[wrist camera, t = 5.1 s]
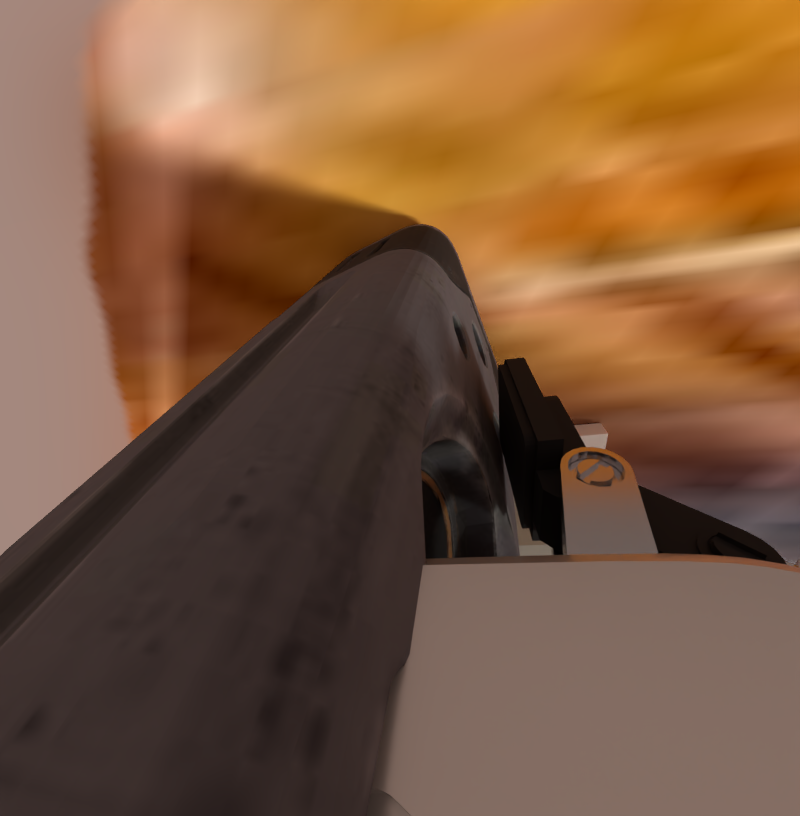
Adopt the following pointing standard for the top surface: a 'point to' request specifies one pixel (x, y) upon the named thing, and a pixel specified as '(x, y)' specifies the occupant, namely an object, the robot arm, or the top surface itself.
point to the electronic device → (258, 560)
